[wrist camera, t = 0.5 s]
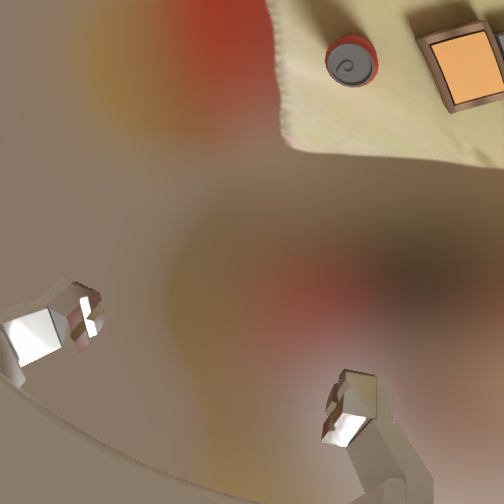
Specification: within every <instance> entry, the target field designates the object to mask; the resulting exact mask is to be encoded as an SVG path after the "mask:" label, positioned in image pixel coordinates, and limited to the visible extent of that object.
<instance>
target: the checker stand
mask: <svg viewBox="0 0 504 504" xmlns="http://www.w3.org/2000/svg"><path fill="white" fill-rule="evenodd" d="M479 31H485V34H486V36H487V39H488V41H489V43H490V46H491V49H492V51H493V54H494V57H495V59H496V62H497V65H498V68H499V71H500V74H501V77H502V80H503V83H504V62H503V59H502V56H501V53H500V51H499V48H498V45H497V43H496V40H495V38H494V35H493V33H492V30H491V28H490V26H489V23H488V21H482V20H477V21H473V22H469V23H465V24H461V25H457V26H453V27H450V28H446V29H443V30H439V31H436V32H432V33H429V34H426V35H423V36H420V37H417V38H415V39H416V41H417V43H418V45H419V47H420V49H421V51H422V53H423V56H424V58H425V60H426V62H427V64H428V66H429V69H430V71H431V73H432V76H433V78H434V80H435V83H436V85H437V88H438V90H439V93H440V95H441V98H442V100H443V103H444V106H445V107H446V109H447V110H448V112H449V113H450V114H452V113H456V112H459V111H463V110H466V109H470V108H473V107H477V106H480V105H484V104H488V103H491V102H495V101H499V100H503V99H504V91H501V92H498V93H494V94H490V95H486V96H482V97H479V98H475V99H472V100H468V101H465V102H461V103H458V104H455V103H454V102H453V99H452V96H451V94H450V91H449V89H448V86H447V83H446V81H445V78H444V76H443V74H442V71H441V69H440V66H439V64H438V62H437V60H436V57H435V55H434V53H433V51H432V49H431V47H430V45H432V44H435V43H439V42H442V41H445V40H449V39H452V38H456V37H460V36H463V35H467V34H471V33H475V32H479Z"/></svg>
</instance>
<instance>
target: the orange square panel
mask: <svg viewBox="0 0 504 504" xmlns="http://www.w3.org/2000/svg"><path fill="white" fill-rule="evenodd" d="M430 47H431V49H432V51H433V53H434V55H435V57H436V60H437V62H438V64H439V66H440V69H441V71H442V74H443V76H444V78H445V81H446V83H447V86H448V89H449V91H450V94H451V96H452V99H453V102H454V103H455V104H458V103H461V102H465V101H468V100H472V99H475V98H479V97H482V96H486V95H490V94H494V93H498V92H501V91H504V83H503V80H502V77H501V74H500V71H499V68H498V65H497V62H496V59H495V57H494V54H493V51H492V49H491V46H490V43H489V41H488V39H487V36H486V34H485V31H479V32H475V33H471V34H467V35H463V36H460V37H456V38H452V39H449V40H445V41H442V42H439V43H435V44H432V45H430Z"/></svg>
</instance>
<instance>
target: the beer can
mask: <svg viewBox="0 0 504 504" xmlns="http://www.w3.org/2000/svg"><path fill="white" fill-rule="evenodd" d="M325 64H326V69H327V70H328V72H329V74H330V76H331V77H332V78H333V79H334V80H335V81H336V82H338V83H340V84H342V85H344V86H348V87H361V86H364V85H367V84H368V83H370V82H371V81H372V80H373V79H374V77H375V76H376V74H377V71H378V66H379V65H378V59H377V54H376V50H375V48H374V46H373V45H372V44H371V43H370V41H369V40H368V39H366V38H364V37H362V36H359V35H355V34H350V35H345V36H343V37H341V38H339V39H338V40H337V41H335V42H334V43H333V44H332V45H331V46H330V47H329V48H328V50H327V52H326V56H325Z"/></svg>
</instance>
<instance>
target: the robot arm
mask: <svg viewBox="0 0 504 504" xmlns="http://www.w3.org/2000/svg"><path fill="white" fill-rule="evenodd" d="M100 302H101V296H100V292H98V291H96V290H94V289H92V288H89V287H87V286H85V285H83V284H81V283H79V282H77V281H74V280H72V279H70V278H68V277H65V278H62V279H61V280H60V281H58V282H57V283H56V284H55V285H54V286H53V287H52V288H51V289H49V290H48V291H47V292H46V293H45V294H44V295H42V297H40V298H39V299H38V300H37V301H34V300H32V301H29V302H25V303H22V304H19V305H16V306H13V307H9V308H6V309H3V310H0V504H264V503H259V502H255V501H251V500H247V499H244V498H239V497H236V496H232V495H229V494H226V493H222V492H219V491H216V490H213V489H210V488H207V487H204V486H201V485H198V484H195V483H192V482H189V481H187V480H184V479H181V478H179V477H176V476H173V475H171V474H169V473H166V472H164V471H161V470H159V469H157V468H154V467H152V466H150V465H148V464H145V463H143V462H141V461H139V460H137V459H134V458H132V457H130V456H128V455H126V454H124V453H122V452H120V451H118V450H116V449H114V448H112V447H111V446H108V445H107V444H105V443H103V442H101V441H99V440H98V439H96V438H94V437H92V436H91V435H89V434H87V433H85V432H84V431H82V430H80V429H79V428H77V427H75V426H74V425H72V424H71V423H69V422H67V421H66V420H64V419H63V418H61V417H60V416H58V415H57V414H55V413H53V412H52V411H51V410H49V409H48V408H46V407H45V406H43V405H42V404H41V403H39V402H38V401H37V400H35V399H34V398H32V397H31V396H29V395H28V394H27V393H26V392H24V391H23V390H21V389H20V386H21V385H22V384H23V383H24V381H25V380H26V375H25V373H24V372H23V370H22V368H21V367H22V366H24V365H26V364H28V363H30V362H32V361H34V360H36V359H38V358H40V357H42V356H44V355H46V354H48V353H51V352H53V351H55V350H57V349H59V348H60V347H62V346H63V347H65V348H67V349H68V350H71V351H72V352H74V353H76V354H78V355H80V353H81V352H82V351H83V350H84V349H85V347H86V346H87V345H88V344H89V343H90V337H91V336H93V335H96V334H97V333H98V332H99V330H101V328H102V326H103V323H104V317H105V315H104V310H103V308H102V307H101V306H100V304H99V303H100ZM325 412H326V414H327V416H328V418H327V419H326V421H325V422H324V424H323V431H322V437H321V442H326V443H330V444H335V445H340V446H346V449H347V451H348V454H349V456H350V459H351V461H352V463H353V466H354V468H355V470H356V473H357V475H358V477H359V480H360V482H361V484H362V487H363V489H364V492H365V494H364V495H362V496H360V497H359V498H357V499H355V500H354V501H352V502H350V503H349V504H433V498H434V496H433V495H434V485H433V484H434V482H433V481H434V480H433V477H432V475H431V474H430V472H429V471H428V469H427V468H426V466H425V464H424V463H423V461H422V460H421V458H420V457H419V455H418V454H417V452H416V451H415V449H414V447H413V446H412V444H411V443H410V441H409V440H408V438H407V437H406V435H405V433H404V432H403V430H402V429H401V427H400V426H399V424H398V423H395V422H393V395H392V380H391V378H388V377H383V376H378V375H373V374H369V373H363V372H358V371H353V370H349V369H343V370H342V372H341V374H340V375H339V381H338V383H336V384H334V386H333V387H332V389H331V392H330V394H329V397H328V400H327V405H326V410H325Z"/></svg>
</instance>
